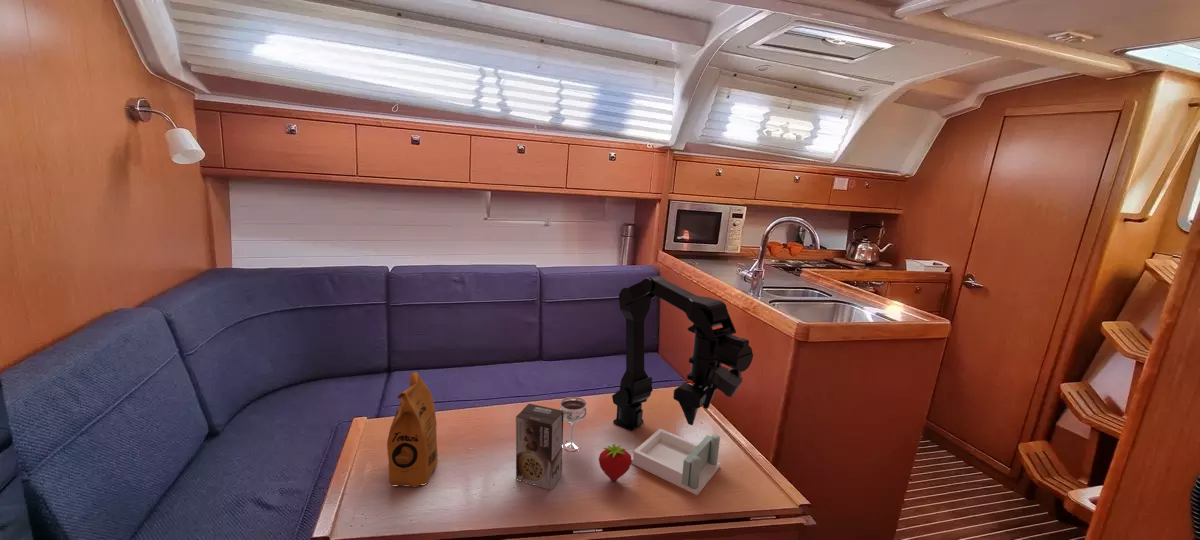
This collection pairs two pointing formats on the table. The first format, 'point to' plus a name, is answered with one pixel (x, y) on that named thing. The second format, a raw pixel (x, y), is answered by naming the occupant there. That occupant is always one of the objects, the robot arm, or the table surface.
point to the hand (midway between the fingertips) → (698, 416)
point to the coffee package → (413, 436)
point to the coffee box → (539, 445)
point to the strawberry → (615, 461)
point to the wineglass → (573, 415)
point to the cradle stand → (679, 459)
